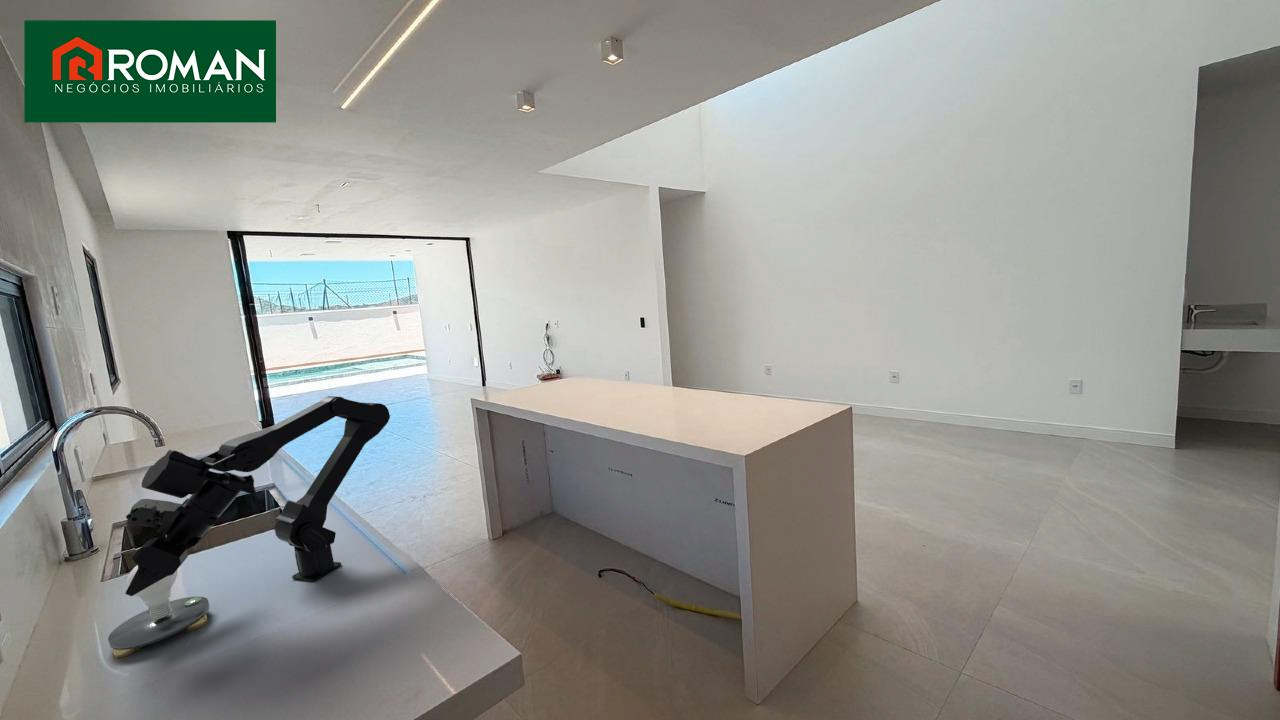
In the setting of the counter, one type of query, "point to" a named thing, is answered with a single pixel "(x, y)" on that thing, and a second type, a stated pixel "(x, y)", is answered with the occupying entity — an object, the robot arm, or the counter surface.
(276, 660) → the counter surface
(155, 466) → the robot arm
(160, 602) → the lightbulb
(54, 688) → the counter surface
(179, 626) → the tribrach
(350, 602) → the counter surface
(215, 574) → the counter surface
